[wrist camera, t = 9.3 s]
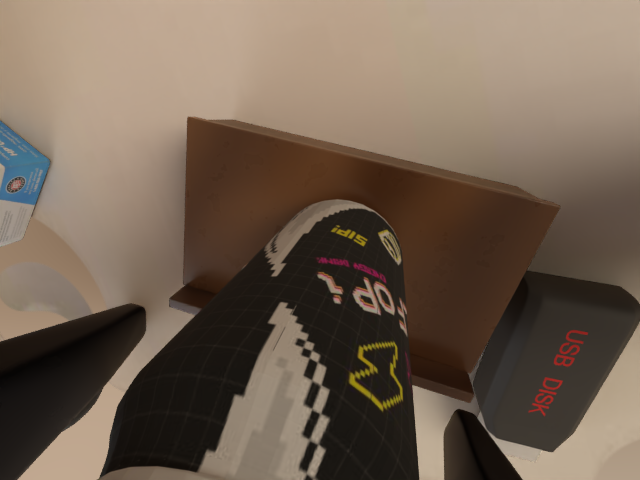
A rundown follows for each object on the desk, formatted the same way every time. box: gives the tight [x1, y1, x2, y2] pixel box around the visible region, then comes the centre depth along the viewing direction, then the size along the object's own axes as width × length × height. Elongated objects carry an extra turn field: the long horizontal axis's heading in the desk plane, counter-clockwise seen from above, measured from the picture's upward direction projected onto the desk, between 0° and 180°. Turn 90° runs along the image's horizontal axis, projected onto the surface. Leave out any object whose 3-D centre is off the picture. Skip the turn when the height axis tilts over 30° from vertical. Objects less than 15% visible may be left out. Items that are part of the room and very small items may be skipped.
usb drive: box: [473, 271, 640, 462], centre depth 18 cm, size 5×12×3 cm, turn 175°
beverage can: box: [98, 199, 419, 480], centre depth 10 cm, size 6×6×12 cm
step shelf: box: [169, 117, 560, 403], centre depth 16 cm, size 16×10×6 cm, turn 79°
